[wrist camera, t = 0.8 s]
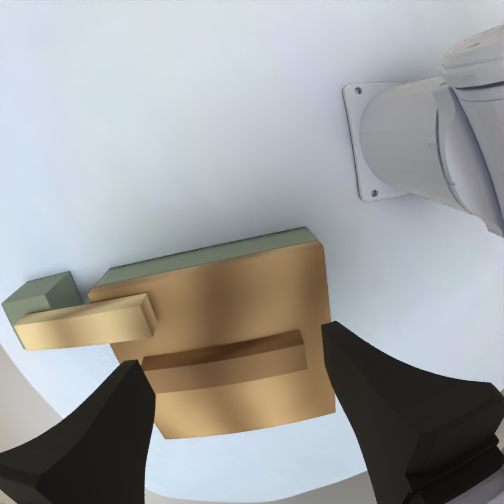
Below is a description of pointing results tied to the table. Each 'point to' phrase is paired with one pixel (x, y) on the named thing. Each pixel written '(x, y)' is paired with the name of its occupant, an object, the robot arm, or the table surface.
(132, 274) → the green piece
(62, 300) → the block
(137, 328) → the light wooden bar
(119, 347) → the lid
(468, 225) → the table surface
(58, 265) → the table surface
